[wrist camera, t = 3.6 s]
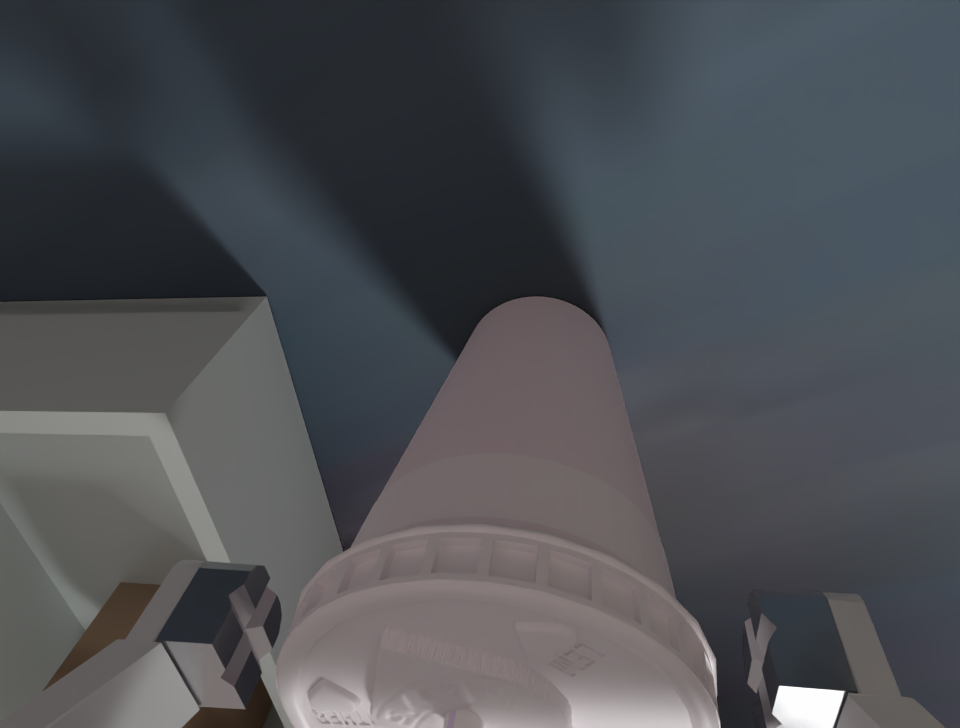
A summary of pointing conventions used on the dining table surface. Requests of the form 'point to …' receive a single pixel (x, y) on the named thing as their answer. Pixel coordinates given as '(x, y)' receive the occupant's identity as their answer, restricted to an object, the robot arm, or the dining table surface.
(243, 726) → the walnut block
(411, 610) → the smoothie
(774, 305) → the dining table surface
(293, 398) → the crate
